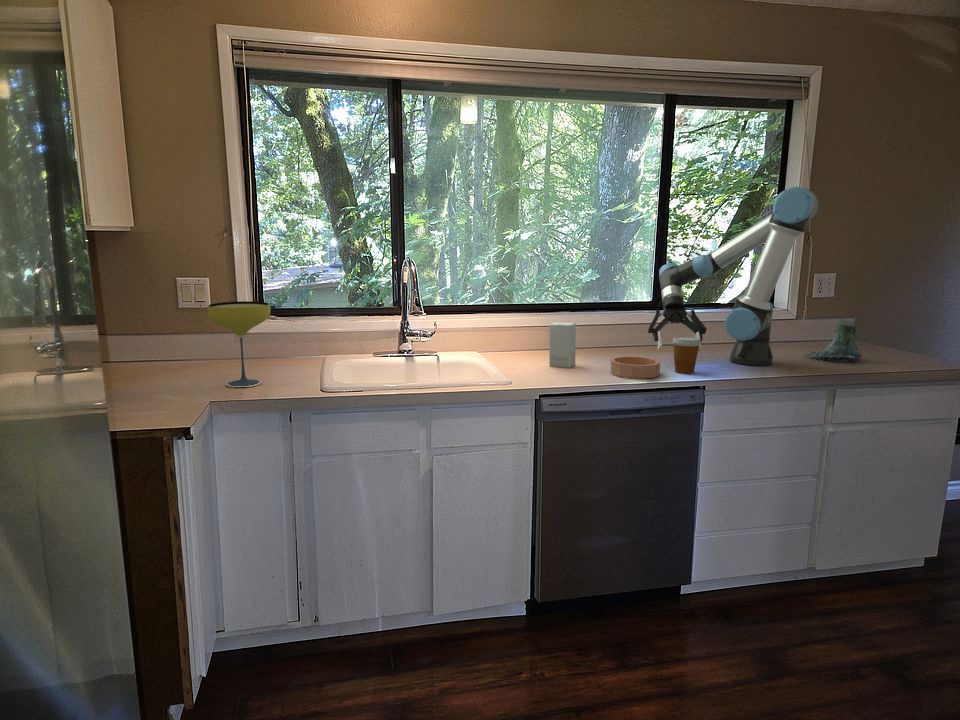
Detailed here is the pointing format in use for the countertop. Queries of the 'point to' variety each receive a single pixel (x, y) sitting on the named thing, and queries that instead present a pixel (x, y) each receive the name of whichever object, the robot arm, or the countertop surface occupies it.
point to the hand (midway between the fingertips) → (679, 348)
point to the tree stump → (840, 345)
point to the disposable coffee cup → (685, 353)
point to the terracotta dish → (635, 367)
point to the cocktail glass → (239, 324)
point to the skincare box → (562, 344)
